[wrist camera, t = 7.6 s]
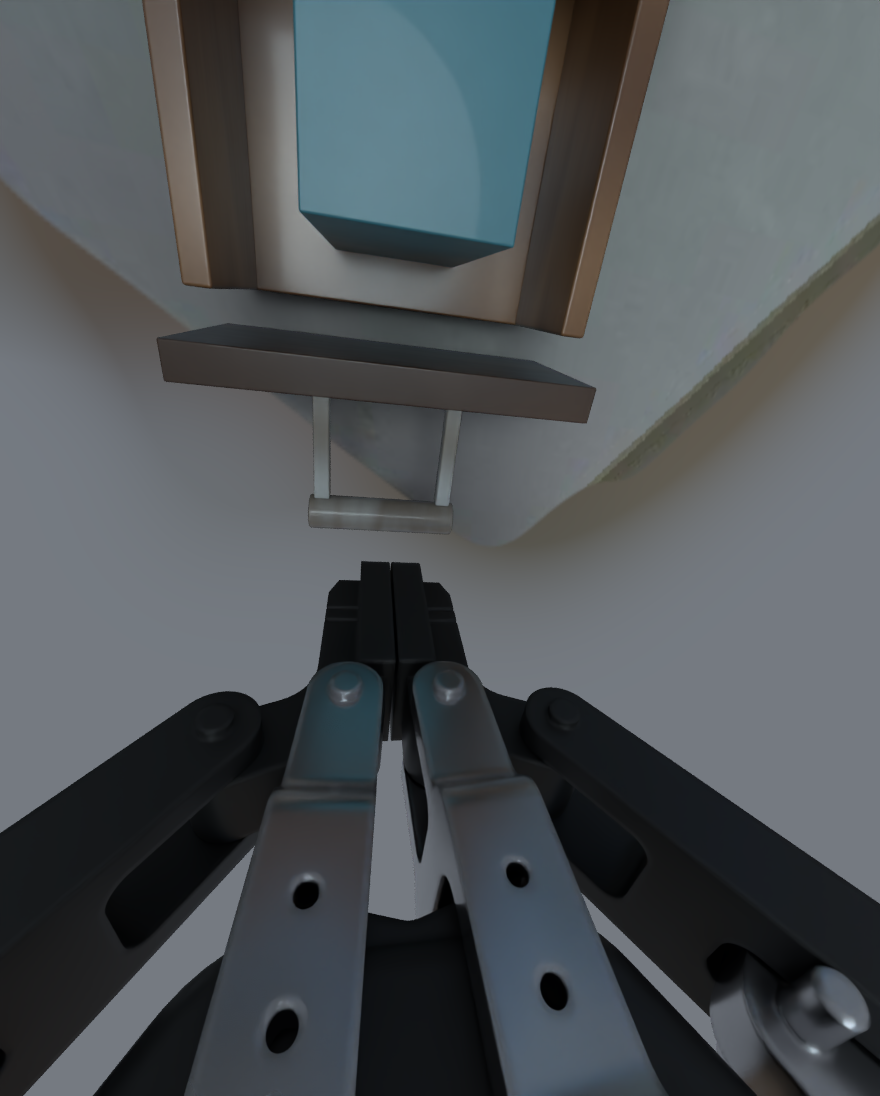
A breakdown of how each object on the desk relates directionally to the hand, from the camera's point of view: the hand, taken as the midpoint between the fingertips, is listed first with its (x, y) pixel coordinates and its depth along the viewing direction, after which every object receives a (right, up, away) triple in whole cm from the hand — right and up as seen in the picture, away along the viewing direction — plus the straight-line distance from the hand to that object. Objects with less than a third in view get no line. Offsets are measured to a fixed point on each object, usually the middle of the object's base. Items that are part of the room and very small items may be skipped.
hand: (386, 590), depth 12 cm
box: (0, +14, +5) cm, 15 cm away
